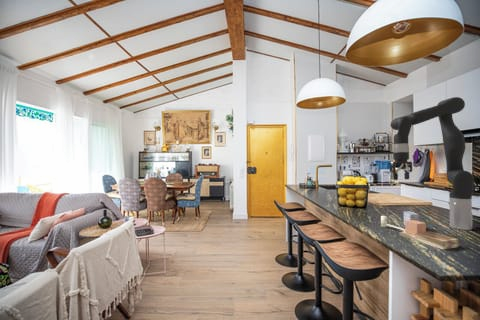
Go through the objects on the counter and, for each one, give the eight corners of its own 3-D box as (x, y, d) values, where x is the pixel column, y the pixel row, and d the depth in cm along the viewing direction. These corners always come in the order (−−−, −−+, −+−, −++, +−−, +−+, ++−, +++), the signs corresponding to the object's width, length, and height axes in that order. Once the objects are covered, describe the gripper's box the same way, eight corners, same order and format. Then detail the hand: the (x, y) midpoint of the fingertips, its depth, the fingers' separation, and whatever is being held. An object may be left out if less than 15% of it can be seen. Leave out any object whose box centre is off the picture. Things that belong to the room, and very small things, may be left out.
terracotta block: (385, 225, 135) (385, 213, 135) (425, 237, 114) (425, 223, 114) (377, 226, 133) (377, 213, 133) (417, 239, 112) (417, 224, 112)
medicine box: (419, 229, 127) (419, 214, 127) (410, 229, 128) (410, 214, 128) (411, 225, 135) (411, 211, 135) (403, 225, 136) (403, 211, 136)
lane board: (413, 233, 121) (413, 226, 121) (458, 246, 102) (458, 239, 102) (399, 235, 119) (399, 228, 119) (442, 249, 99) (442, 241, 99)
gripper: (403, 151, 136) (404, 178, 136) (385, 151, 132) (385, 179, 132) (416, 151, 129) (417, 179, 129) (397, 151, 125) (398, 180, 125)
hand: (401, 179), depth 131 cm, fingers open, 8 cm apart
